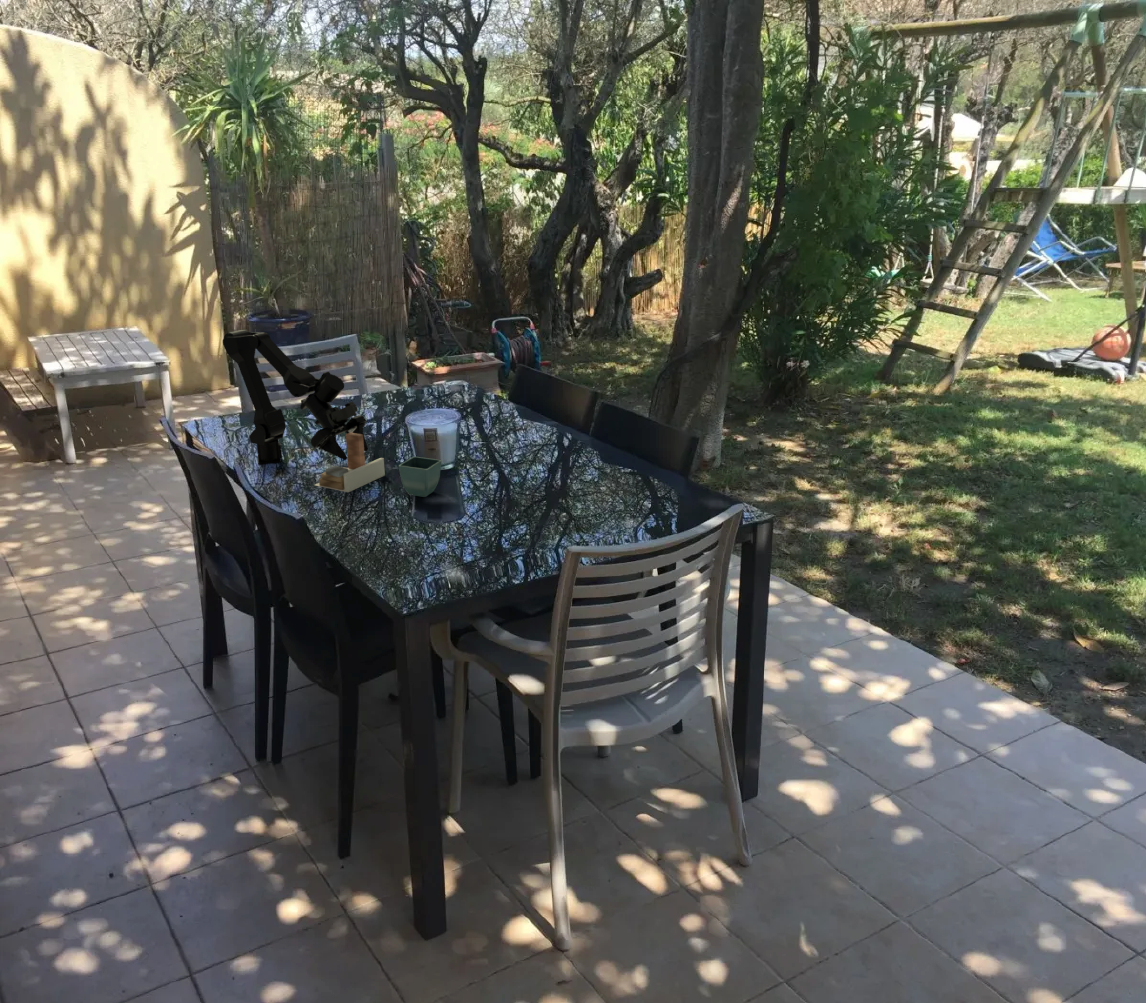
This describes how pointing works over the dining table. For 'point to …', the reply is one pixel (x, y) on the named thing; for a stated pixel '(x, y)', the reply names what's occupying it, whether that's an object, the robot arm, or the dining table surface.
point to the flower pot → (420, 475)
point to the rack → (362, 475)
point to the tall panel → (355, 450)
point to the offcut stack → (333, 477)
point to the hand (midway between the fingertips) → (356, 454)
